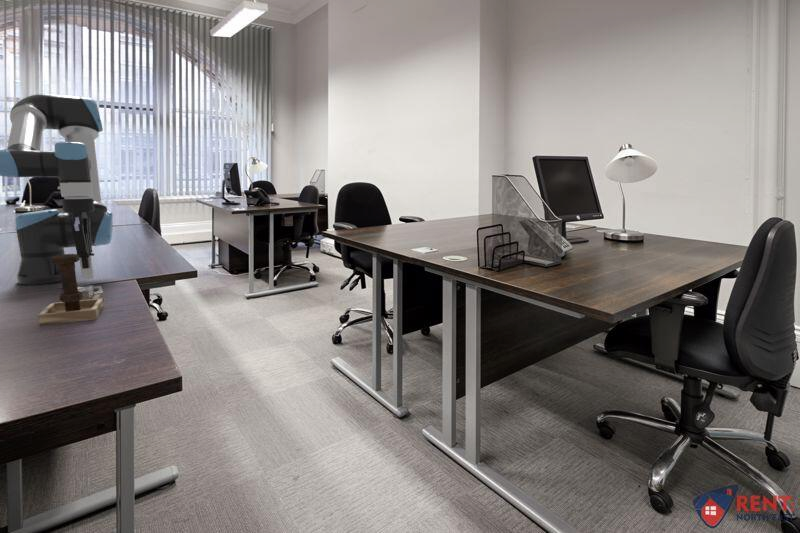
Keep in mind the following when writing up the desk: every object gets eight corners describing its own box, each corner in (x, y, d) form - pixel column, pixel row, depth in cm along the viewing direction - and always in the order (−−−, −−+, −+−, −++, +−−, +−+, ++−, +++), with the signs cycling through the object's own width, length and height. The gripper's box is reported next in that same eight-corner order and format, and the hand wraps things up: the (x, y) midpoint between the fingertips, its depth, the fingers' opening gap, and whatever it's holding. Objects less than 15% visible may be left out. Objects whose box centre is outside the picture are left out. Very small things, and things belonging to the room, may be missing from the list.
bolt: (91, 310, 119) (83, 254, 116) (76, 316, 114) (67, 257, 111) (71, 310, 119) (62, 253, 116) (54, 315, 114) (45, 257, 111)
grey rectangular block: (79, 298, 131) (77, 286, 130) (94, 297, 133) (93, 284, 132) (74, 304, 125) (72, 291, 125) (90, 303, 127) (88, 290, 126)
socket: (62, 301, 129) (61, 292, 129) (110, 297, 134) (109, 288, 133) (39, 325, 109) (38, 315, 109) (96, 319, 114) (95, 309, 113)
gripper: (67, 197, 135) (77, 275, 139) (55, 199, 123) (67, 284, 128) (97, 197, 138) (106, 273, 142) (88, 198, 126) (99, 281, 131)
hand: (88, 278), depth 135 cm, fingers closed
